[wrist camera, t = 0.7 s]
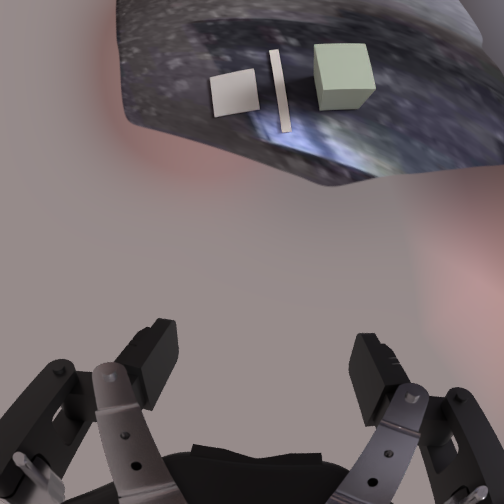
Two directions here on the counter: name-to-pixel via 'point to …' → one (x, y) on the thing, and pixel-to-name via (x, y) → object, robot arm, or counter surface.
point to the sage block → (342, 76)
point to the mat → (234, 93)
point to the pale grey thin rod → (280, 91)
